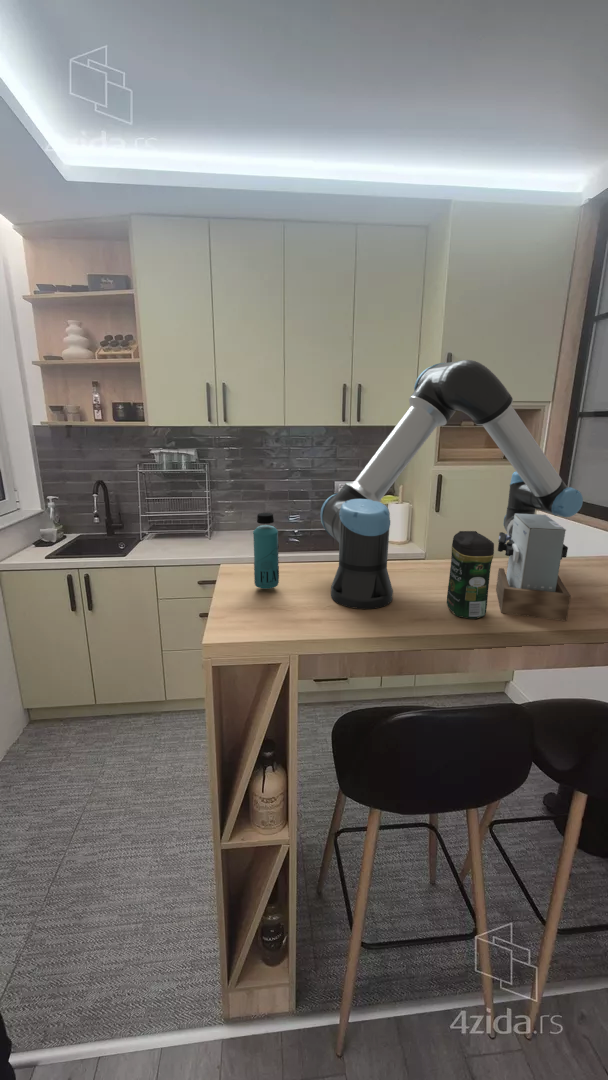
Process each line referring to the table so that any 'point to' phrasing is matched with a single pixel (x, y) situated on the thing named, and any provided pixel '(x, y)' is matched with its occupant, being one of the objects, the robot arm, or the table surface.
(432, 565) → the table surface
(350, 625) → the table surface
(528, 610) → the walnut crate
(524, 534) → the hard drive box
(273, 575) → the beverage bottle
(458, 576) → the coffee jar
